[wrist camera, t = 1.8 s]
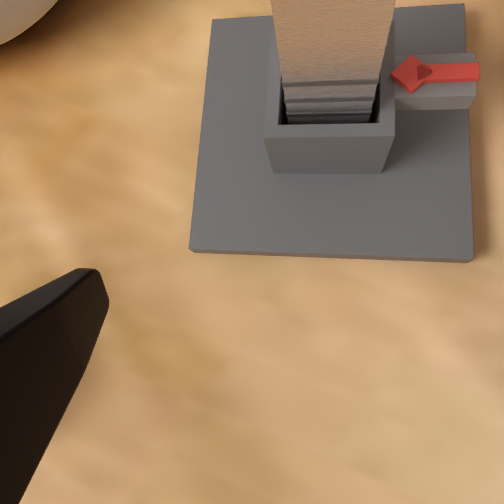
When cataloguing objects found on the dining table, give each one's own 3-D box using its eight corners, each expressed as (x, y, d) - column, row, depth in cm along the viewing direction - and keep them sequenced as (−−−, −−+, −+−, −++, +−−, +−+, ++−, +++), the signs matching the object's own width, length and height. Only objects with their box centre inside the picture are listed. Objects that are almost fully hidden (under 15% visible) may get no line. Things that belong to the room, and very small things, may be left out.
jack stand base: (466, 262, 20) (515, 237, 15) (194, 252, 22) (158, 227, 17) (458, 17, 23) (497, -74, 18) (216, 31, 25) (190, -45, 20)
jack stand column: (361, 153, 21) (408, -47, 10) (292, 153, 21) (263, -35, 11) (363, 90, 21) (407, -161, 11) (295, 92, 22) (272, -143, 11)
